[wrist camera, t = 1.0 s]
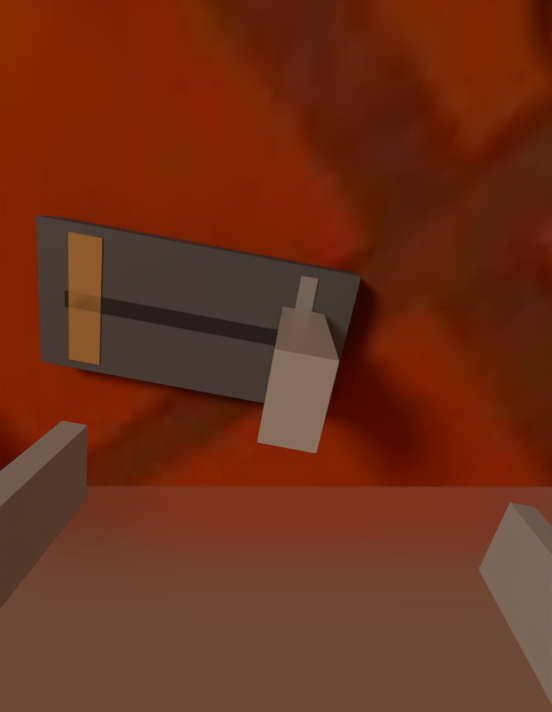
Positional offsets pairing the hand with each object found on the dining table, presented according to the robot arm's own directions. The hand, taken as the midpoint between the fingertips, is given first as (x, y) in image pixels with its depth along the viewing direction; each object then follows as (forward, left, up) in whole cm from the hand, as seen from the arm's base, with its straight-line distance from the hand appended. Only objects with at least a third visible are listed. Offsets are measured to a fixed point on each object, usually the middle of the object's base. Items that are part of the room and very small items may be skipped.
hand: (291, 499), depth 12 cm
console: (+8, 0, -20) cm, 21 cm away
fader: (0, 0, -17) cm, 17 cm away
